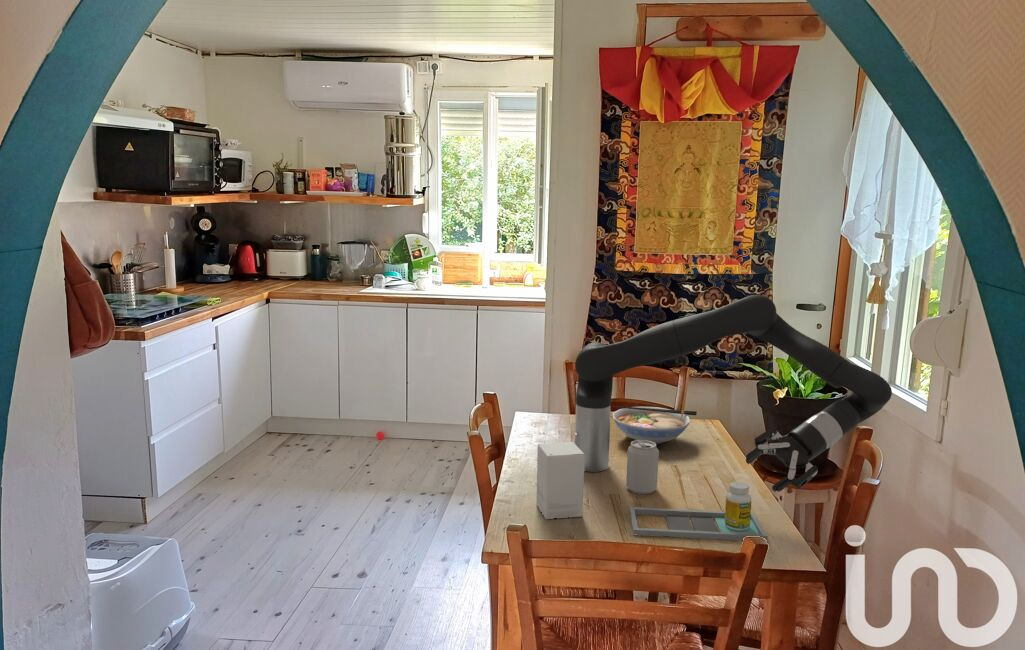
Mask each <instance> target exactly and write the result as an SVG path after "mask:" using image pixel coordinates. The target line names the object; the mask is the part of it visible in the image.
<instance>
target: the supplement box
mask: <svg viewBox="0 0 1025 650" xmlns="http://www.w3.org/2000/svg"><path fill="white" fill-rule="evenodd" d="M536 452H537V458H536V460H537V461H536V504H537V505H536V506H537V508H538V507H539V508H538V509H539V511H540V513H541V512H542V513H541V514H542V516H543V515H544V516H543V517H544V519H545V520H554V518H557V519H567V518H568V517H569V519H570V518H583V516H584V513H583V511H584V509H583V508H584V487H585V485H584V484H585V483H584V482H585V471H584V461H585V454H584V453H583V452H582V451H581V450H580V449H579V448H578V447H577V446H576V445H575V441H564V442H550V443H549V442H547V443H545V442H544V443H538V444H537V451H536Z"/></svg>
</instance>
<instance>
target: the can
mask: <svg viewBox="0 0 1025 650" xmlns="http://www.w3.org/2000/svg"><path fill="white" fill-rule="evenodd" d="M659 451H660V450H659V449H658V448H657V444H655V443H654V442H651V441H647V440H635V439H634V440H632V441H631V442H630V446H628V447H627V457H626V460H627V461H626V462H627V463H626V481H625V482H626V484H625V485H626V486H625V487H626V488H627V489H628V490H629V491H630V492H632V493H634V494H638V495H649V494H652V493H654V491H656V490H657V488H658V474H659V453H660V452H659Z"/></svg>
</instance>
